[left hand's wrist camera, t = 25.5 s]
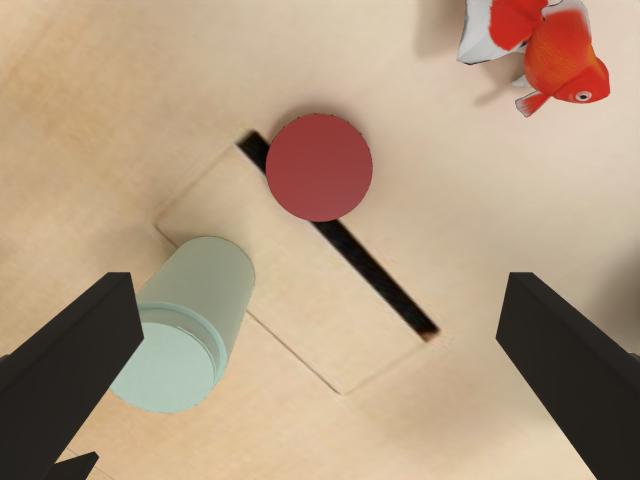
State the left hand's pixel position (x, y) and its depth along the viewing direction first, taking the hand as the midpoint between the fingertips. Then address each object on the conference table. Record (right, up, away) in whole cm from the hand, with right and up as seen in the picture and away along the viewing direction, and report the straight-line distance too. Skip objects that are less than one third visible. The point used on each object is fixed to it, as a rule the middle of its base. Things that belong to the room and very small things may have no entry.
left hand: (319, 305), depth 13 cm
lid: (0, +9, +23) cm, 24 cm away
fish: (+16, +20, +20) cm, 33 cm away
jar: (-12, -2, +29) cm, 31 cm away
